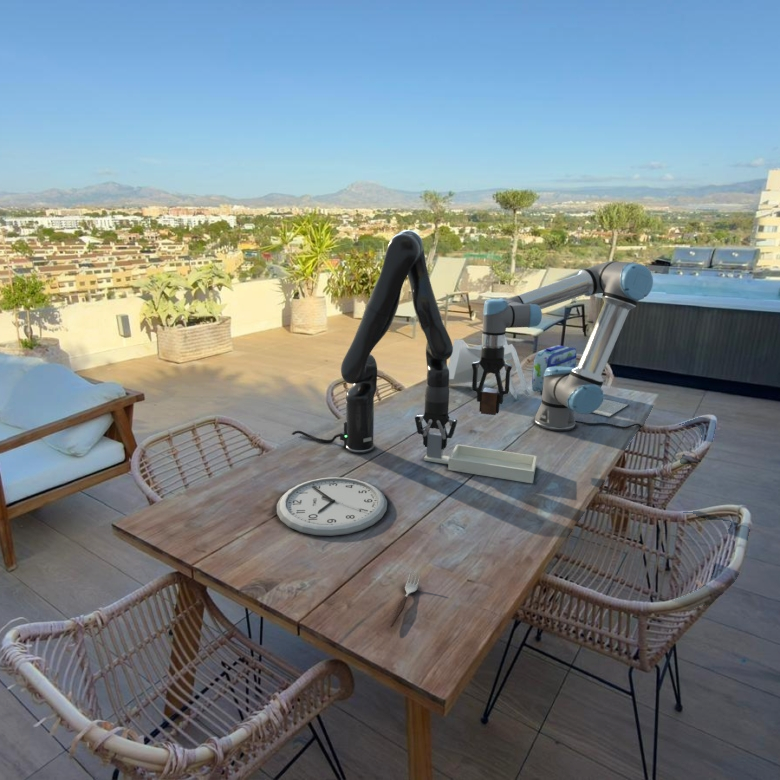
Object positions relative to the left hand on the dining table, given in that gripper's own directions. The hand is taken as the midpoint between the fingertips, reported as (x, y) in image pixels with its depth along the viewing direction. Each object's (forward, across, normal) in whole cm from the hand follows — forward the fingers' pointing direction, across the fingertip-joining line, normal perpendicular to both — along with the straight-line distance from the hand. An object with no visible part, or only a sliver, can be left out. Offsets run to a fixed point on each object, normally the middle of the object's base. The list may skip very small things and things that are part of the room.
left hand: (434, 447), depth 171 cm
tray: (+4, -14, 0) cm, 15 cm away
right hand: (-8, -14, -20) cm, 25 cm away
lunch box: (+4, -34, -95) cm, 101 cm away
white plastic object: (+4, -2, -79) cm, 79 cm away
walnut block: (-8, -14, -20) cm, 25 cm away
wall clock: (+4, +19, +39) cm, 43 cm away
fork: (+4, -11, +69) cm, 70 cm away
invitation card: (+4, -55, -78) cm, 95 cm away
